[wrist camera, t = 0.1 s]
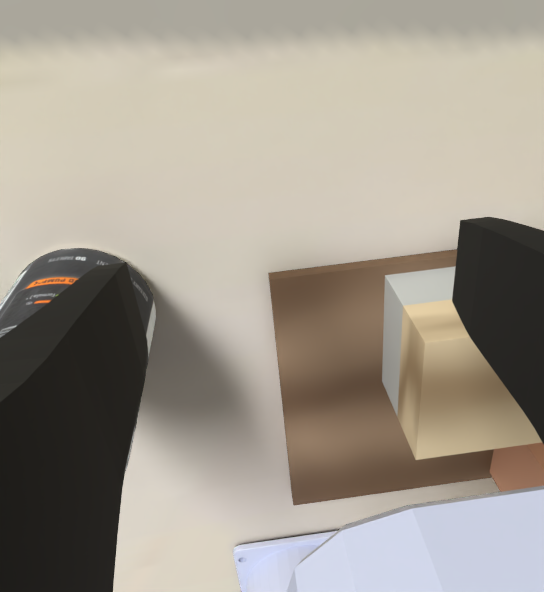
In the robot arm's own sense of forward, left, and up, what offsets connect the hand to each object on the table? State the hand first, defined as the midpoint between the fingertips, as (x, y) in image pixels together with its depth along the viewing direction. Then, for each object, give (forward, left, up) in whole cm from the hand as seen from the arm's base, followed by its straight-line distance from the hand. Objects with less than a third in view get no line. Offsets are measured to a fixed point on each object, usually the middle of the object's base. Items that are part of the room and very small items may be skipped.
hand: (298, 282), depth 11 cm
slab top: (-9, -8, -7) cm, 14 cm away
